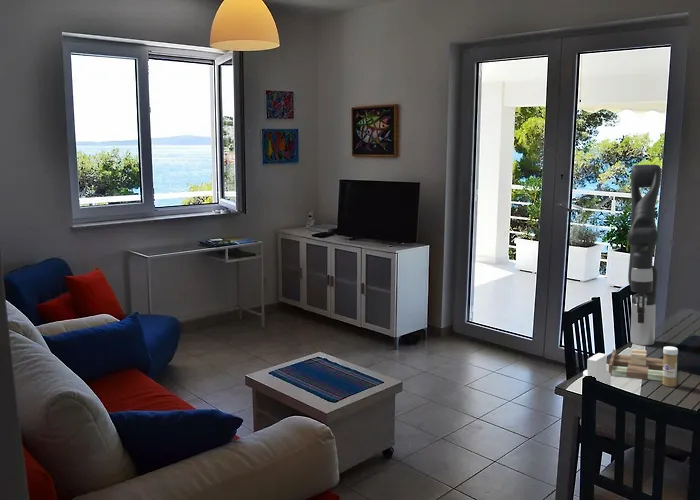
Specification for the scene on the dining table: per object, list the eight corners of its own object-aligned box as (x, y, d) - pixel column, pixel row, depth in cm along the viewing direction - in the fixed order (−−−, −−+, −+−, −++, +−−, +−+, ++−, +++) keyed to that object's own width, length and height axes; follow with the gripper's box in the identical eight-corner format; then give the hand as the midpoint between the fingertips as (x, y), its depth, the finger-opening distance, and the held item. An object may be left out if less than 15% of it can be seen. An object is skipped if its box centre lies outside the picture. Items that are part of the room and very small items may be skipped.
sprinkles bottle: (660, 385, 217) (661, 348, 215) (664, 381, 221) (665, 345, 219) (675, 388, 214) (676, 350, 212) (678, 384, 218) (679, 347, 216)
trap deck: (613, 359, 246) (613, 349, 246) (666, 364, 237) (667, 354, 237) (608, 374, 230) (608, 364, 229) (666, 381, 221) (666, 370, 220)
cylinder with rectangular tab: (589, 383, 223) (590, 351, 221) (615, 389, 216) (615, 356, 214) (578, 390, 216) (578, 357, 215) (603, 396, 210) (604, 362, 208)
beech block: (632, 359, 239) (632, 349, 239) (646, 360, 237) (646, 350, 236) (631, 364, 234) (631, 353, 233) (645, 365, 232) (646, 355, 231)
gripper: (652, 282, 232) (651, 328, 234) (653, 276, 243) (652, 319, 246) (630, 281, 235) (629, 326, 238) (632, 275, 247) (631, 317, 249)
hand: (640, 322), depth 242 cm, fingers closed
